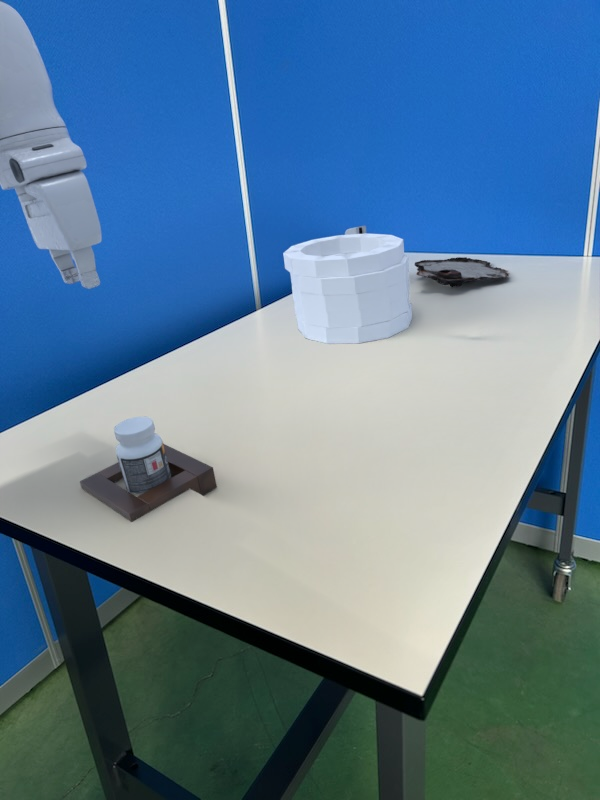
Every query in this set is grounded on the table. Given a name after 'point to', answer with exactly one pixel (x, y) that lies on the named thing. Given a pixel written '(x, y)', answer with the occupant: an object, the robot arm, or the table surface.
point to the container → (350, 287)
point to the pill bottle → (141, 455)
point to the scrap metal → (459, 270)
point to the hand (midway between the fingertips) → (82, 284)
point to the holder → (131, 507)
